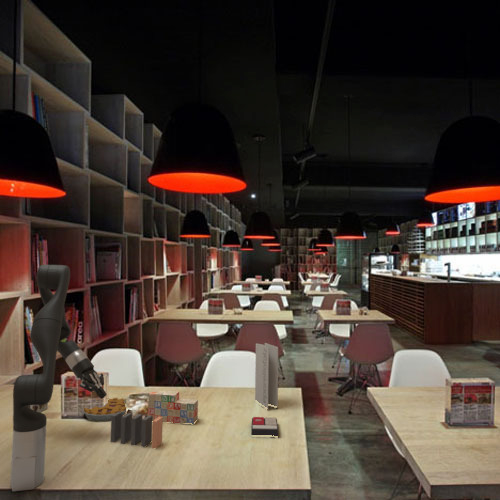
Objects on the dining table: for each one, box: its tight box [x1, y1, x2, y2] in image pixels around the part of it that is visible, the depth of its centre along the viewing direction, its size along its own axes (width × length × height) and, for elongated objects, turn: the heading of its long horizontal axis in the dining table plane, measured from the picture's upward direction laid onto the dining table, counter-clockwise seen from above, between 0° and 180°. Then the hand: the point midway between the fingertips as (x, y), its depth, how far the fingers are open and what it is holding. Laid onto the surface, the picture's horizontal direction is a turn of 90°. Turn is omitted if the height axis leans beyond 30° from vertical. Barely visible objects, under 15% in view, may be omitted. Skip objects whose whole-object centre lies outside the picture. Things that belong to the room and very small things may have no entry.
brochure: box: [254, 342, 279, 409], centre depth 204 cm, size 14×6×30 cm, turn 25°
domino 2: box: [120, 412, 133, 445], centre depth 158 cm, size 2×5×10 cm, turn 164°
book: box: [250, 416, 279, 437], centre depth 171 cm, size 11×4×15 cm
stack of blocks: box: [147, 389, 199, 425], centre depth 181 cm, size 21×6×12 cm, turn 79°
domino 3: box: [130, 413, 143, 446], centre depth 157 cm, size 2×5×10 cm, turn 164°
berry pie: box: [82, 397, 126, 422], centre depth 188 cm, size 22×22×5 cm
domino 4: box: [140, 414, 153, 448], centre depth 156 cm, size 2×5×10 cm, turn 164°
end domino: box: [151, 417, 164, 449], centre depth 155 cm, size 2×5×10 cm, turn 164°
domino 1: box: [110, 412, 122, 443], centre depth 160 cm, size 2×5×10 cm, turn 164°
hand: (104, 396), depth 162 cm, fingers closed
